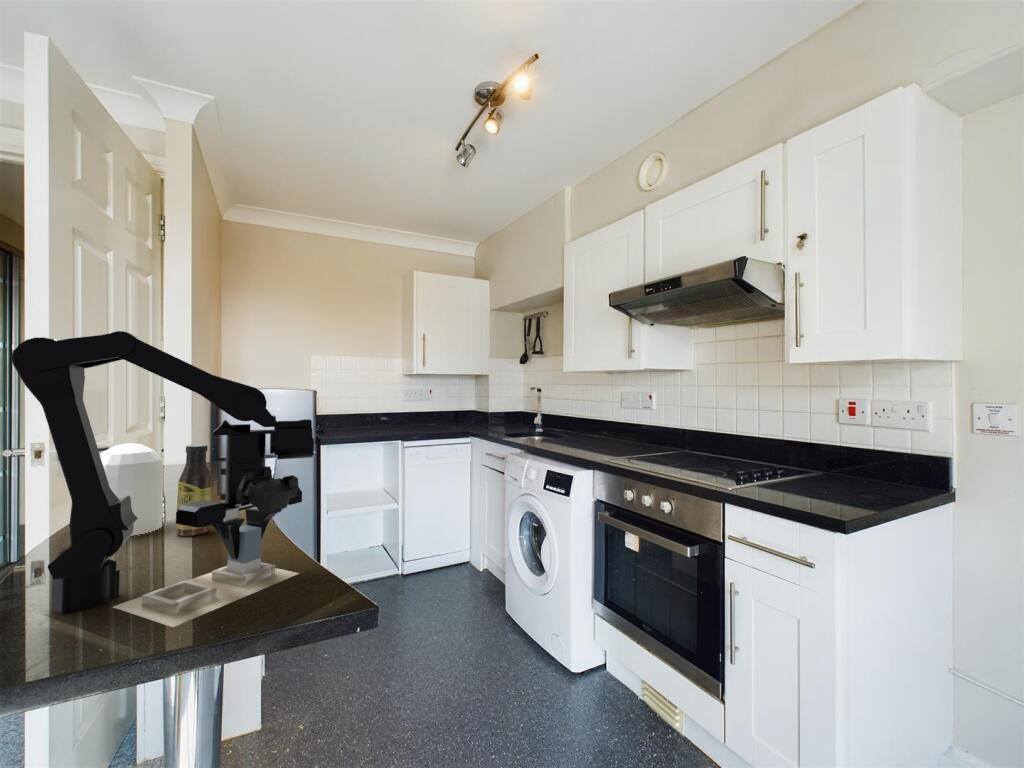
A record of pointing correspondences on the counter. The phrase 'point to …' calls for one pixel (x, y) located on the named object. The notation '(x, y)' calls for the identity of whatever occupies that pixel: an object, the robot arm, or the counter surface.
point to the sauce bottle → (194, 485)
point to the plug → (247, 551)
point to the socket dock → (202, 594)
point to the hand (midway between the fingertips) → (244, 555)
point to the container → (137, 482)
